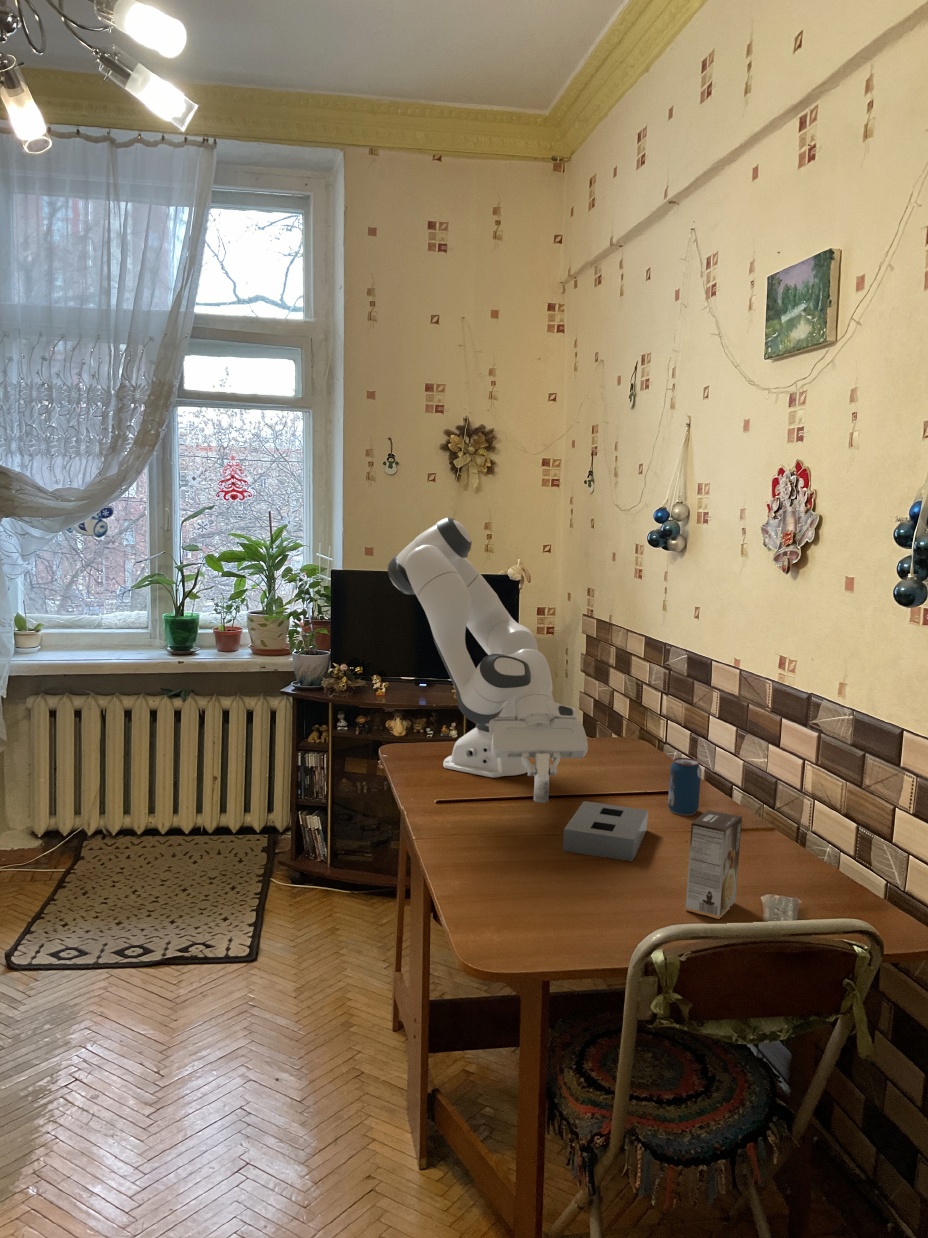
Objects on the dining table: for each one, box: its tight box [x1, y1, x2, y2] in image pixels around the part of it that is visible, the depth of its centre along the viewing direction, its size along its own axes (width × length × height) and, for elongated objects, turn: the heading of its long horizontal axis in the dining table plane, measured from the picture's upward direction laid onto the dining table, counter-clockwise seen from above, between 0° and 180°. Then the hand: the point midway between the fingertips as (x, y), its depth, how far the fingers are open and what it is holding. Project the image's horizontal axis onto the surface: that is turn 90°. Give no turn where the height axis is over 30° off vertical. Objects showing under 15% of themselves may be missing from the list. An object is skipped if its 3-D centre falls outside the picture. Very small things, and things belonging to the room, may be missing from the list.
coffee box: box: [685, 809, 743, 916], centre depth 165 cm, size 9×6×16 cm
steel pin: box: [533, 751, 551, 804], centre depth 196 cm, size 3×3×10 cm
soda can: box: [667, 757, 702, 816], centre depth 218 cm, size 7×7×12 cm
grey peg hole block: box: [562, 800, 649, 862], centre depth 197 cm, size 14×20×4 cm
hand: (542, 774), depth 195 cm, fingers closed on steel pin, 3 cm apart
